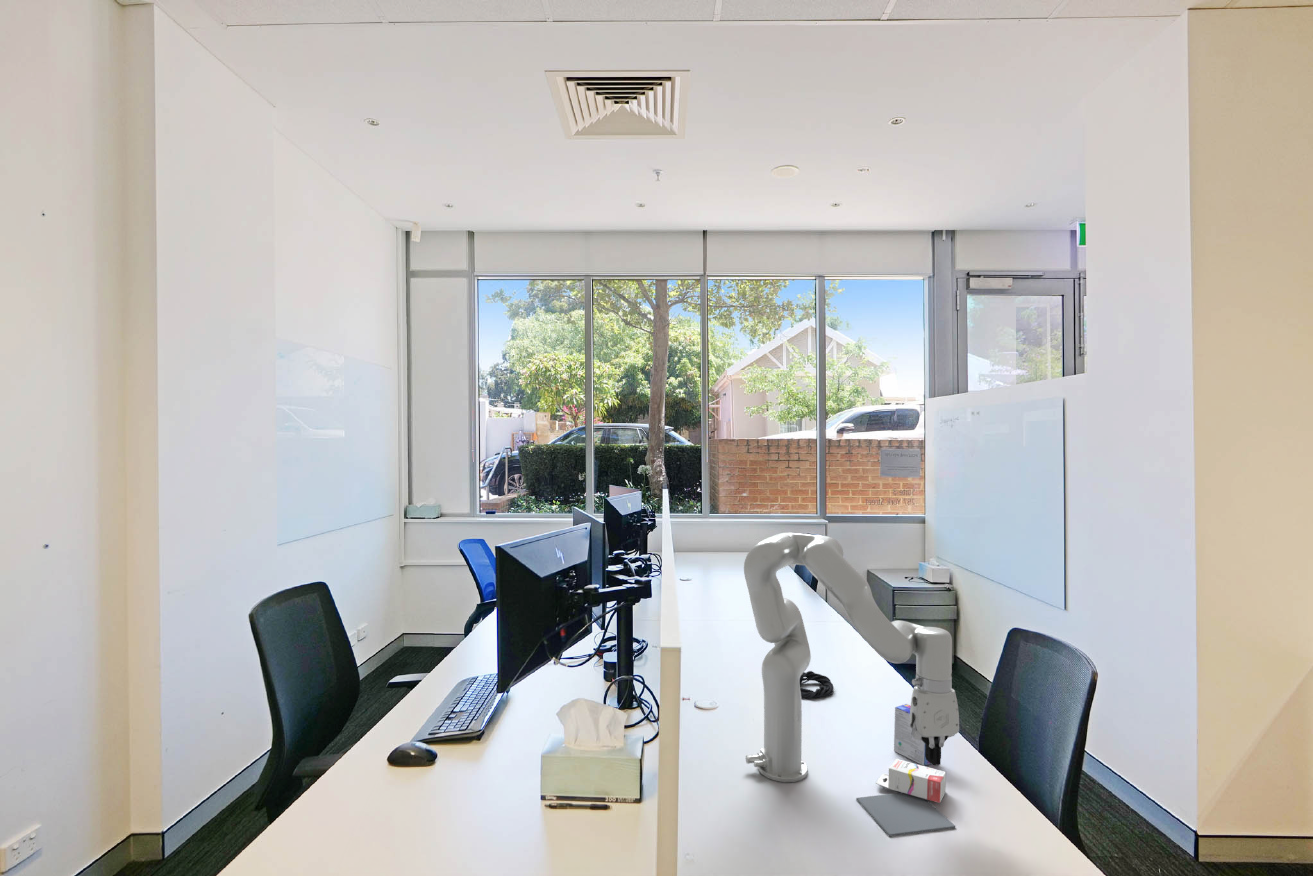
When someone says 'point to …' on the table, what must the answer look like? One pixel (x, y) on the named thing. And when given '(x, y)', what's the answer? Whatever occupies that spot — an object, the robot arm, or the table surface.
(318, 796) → the table surface
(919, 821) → the rubber mat
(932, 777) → the ink cartridge box
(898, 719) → the ink cartridge box
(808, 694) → the cable
